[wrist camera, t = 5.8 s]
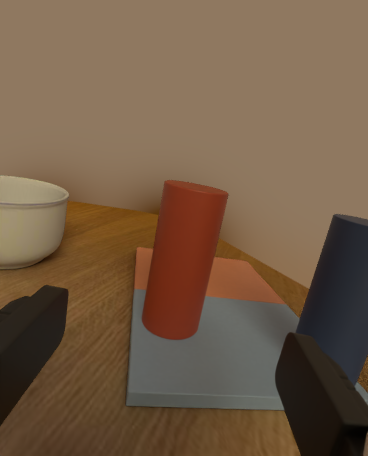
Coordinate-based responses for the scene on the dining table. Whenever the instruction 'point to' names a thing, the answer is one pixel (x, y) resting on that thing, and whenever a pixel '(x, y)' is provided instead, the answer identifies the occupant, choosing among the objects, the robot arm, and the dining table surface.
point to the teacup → (29, 220)
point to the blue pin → (340, 296)
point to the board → (213, 345)
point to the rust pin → (182, 258)
